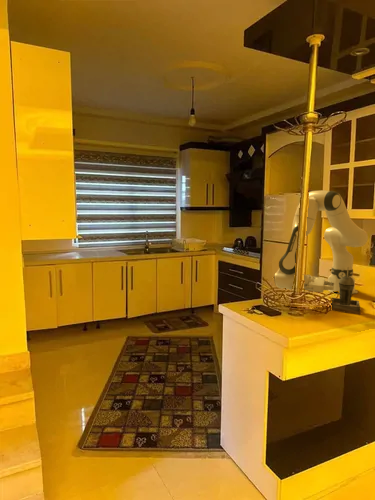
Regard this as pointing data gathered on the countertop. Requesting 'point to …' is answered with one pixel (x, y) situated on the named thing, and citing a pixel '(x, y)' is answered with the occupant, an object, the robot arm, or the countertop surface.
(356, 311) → the dock plate
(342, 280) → the beverage cup
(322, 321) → the countertop surface
